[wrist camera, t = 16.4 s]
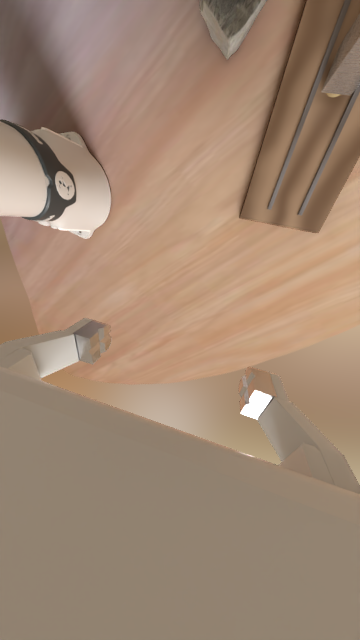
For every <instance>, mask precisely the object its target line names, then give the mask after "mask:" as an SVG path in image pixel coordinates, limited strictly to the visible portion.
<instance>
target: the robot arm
mask: <svg viewBox="0 0 360 640" xmlns="http://www.w3.org/2000/svg"><path fill="white" fill-rule="evenodd" d="M110 206H111V193H110V187H109V183H108V180H107V177H106V175H105V173H104V171H103V169H102V167H101V166H100V164H99V163H98V162H97V160H96V159H95V158H94V157H93V156H92V155H91V154H90V153H89V151H88V149H87V147H86V145H85V143H84V141H83V139H82V137H81V136H80V135H79V134H78V133H76V132H73V131H72V132H66V133H60V134H58V133H56V132H54V131H51V130H49V129H47V128H45V127H41V129H36V130H33V131H29V130H28V129H26V128H24V127H22V126H20V125H18V124H15V123H11V122H9V121H6V120H0V216H17V217H22V218H24V219H27V220H34V221H38V223H39V224H42V225H45V226H51V228H54V229H60V230H67V231H69V232H72V233H74V234H76V235H78V236H80V237H82V238H86V239H89V238H90V237H91V235H92V234H93V232H94V230H95V229H96V228H98V227H99V226H101V225H102V224H103V223H104V222H105V220H106V219H107V217H108V214H109V211H110ZM110 332H111V326H110V325H108V324H105V323H102V322H99V321H95V320H92V319H89V318H83V319H82V320H80V321H79V322H77V323H75V324H74V325H72V326H71V327H69V328H67V329H66V330H64V331H61V330H60V331H55V332H50V333H46V334H41V335H36V336H31V337H27V338H22V339H17V340H13V341H8V342H5V343H3V344H1V345H0V640H360V485H359V483H358V481H357V479H356V477H355V476H354V474H353V472H352V470H351V468H350V466H349V464H348V462H347V460H346V459H345V457H344V455H343V454H342V453H341V452H340V451H339V450H338V449H337V448H336V447H335V446H334V445H333V444H332V443H331V442H330V441H329V440H328V439H327V438H326V437H325V436H324V435H323V433H321V431H320V430H319V429H318V428H317V427H316V426H315V425H314V424H313V423H312V422H311V421H310V420H309V419H308V418H307V417H306V416H305V415H304V414H303V413H302V412H301V411H300V410H299V409H298V408H297V407H296V406H295V405H294V404H293V403H292V402H289V399H288V397H287V394H286V391H285V389H284V386H283V383H282V381H281V378H280V376H279V375H278V374H275V373H271V372H266V371H263V370H260V369H256V368H253V367H248V368H247V369H246V371H245V374H246V375H245V376H243V377H242V379H241V380H240V383H239V395H240V396H241V400H240V401H239V402H240V413H242V414H244V415H247V416H250V417H253V418H255V419H258V422H259V424H260V426H261V427H262V429H263V431H264V432H265V434H266V436H267V438H268V439H269V441H270V443H271V444H272V446H273V448H274V449H275V451H276V453H277V455H278V456H279V458H280V459H281V461H282V462H281V463H280V464H279V465H276V464H273V463H270V462H267V461H265V460H262V459H259V458H256V457H253V456H251V455H248V454H245V453H242V452H240V451H237V450H234V449H231V448H228V447H226V446H223V445H220V444H217V443H214V442H211V441H209V440H205V439H203V438H200V437H197V436H194V435H192V434H189V433H186V432H183V431H181V430H177V429H175V428H172V427H169V426H166V425H164V424H161V423H158V422H155V421H152V420H149V419H147V418H144V417H141V416H138V415H135V414H133V413H130V412H127V411H124V410H121V409H119V408H116V407H113V406H110V405H108V404H105V403H102V402H99V401H96V400H94V399H91V398H88V397H85V396H82V395H80V394H77V393H74V392H71V391H68V390H66V389H63V388H60V387H57V386H54V385H52V384H49V383H46V382H43V381H42V380H41V378H42V377H44V376H47V375H49V374H51V373H53V372H56V371H58V370H60V369H62V368H65V367H67V366H69V365H71V364H73V363H76V362H78V361H79V360H80V361H83V362H86V363H90V364H94V363H95V362H96V361H97V360H98V359H99V358H100V354H101V353H103V352H105V351H106V350H107V349H108V348H109V346H110V344H111V336H110V334H109V333H110Z"/></svg>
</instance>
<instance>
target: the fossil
mask: <svg viewBox="0 0 360 640" xmlns="http://www.w3.org/2000/svg"><path fill="white" fill-rule="evenodd" d="M266 1H267V0H200V13H201V16H202V17H203V19H204V20H205V22H206V24H207V27H208V29H209V32H210V36H211V39H212V40H213V41H214V42H215V43H216V45H217V46H218V47H219V48H220V50H221V51H222V53H223V55H224V56H225V57H226V59H227V60H228V59H229V57H230V56H231V55H232V54H233V53H235V52H236V51H237V49H238V48H239V46H240V45H241V43H242V42H243V40H244V38H245V37H246V35H247V34H248V32H249V30H250V28H251V27H252V25H253V23H254V21H255V19H256V17H257V15H258V14H259V12H260V11H261V9H262V8H263V6H264V4H265V3H266Z"/></svg>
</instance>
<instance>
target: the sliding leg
mask: <svg viewBox="0 0 360 640" xmlns="http://www.w3.org/2000/svg"><path fill="white" fill-rule="evenodd" d="M359 85H360V14H359V15H358V17H357V19H356V20H355V22H354V23H353V25H352V27H351V28H350V30H349V31H348V33H347V35H346V36H345V38H344V39H343V41H342V43H341V44H340V46H339V48H338V50H337V53H336V55H335V58H334V61H333V63H332V66H331V68H330V71H329V73H328V76H327V78H326V81H325V83H324V86H323V89H322V91H321V92H322V93H332V94H341V95H351V94H352V93H353V92H354V91H355V90H356V89H357V88H358V87H359Z"/></svg>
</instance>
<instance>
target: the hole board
mask: <svg viewBox="0 0 360 640" xmlns="http://www.w3.org/2000/svg"><path fill="white" fill-rule="evenodd" d="M359 14H360V0H306V3H305V7H304V10H303V13H302V16H301V20H300V23H299V26H298V29H297V33H296V36H295V39H294V42H293V46H292V49H291V52H290V55H289V59H288V62H287V65H286V68H285V72H284V75H283V78H282V81H281V85H280V88H279V91H278V94H277V98H276V101H275V104H274V107H273V111H272V114H271V117H270V120H269V124H268V127H267V130H266V133H265V137H264V140H263V143H262V146H261V150H260V153H259V156H258V159H257V163H256V166H255V169H254V172H253V176H252V179H251V182H250V185H249V189H248V192H247V195H246V198H245V202H244V205H243V208H242V211H241V215H240V218H241V219H246V220H251V221H256V222H261V223H267V224H272V225H277V226H282V227H287V228H292V229H297V230H302V231H307V232H312V233H319V231H320V229H321V227H322V226H323V224H324V222H325V220H326V218H327V216H328V214H329V212H330V211H331V209H332V207H333V205H334V203H335V201H336V199H337V198H338V196H339V194H340V192H341V190H342V188H343V186H344V184H345V183H346V181H347V179H348V177H349V175H350V173H351V171H352V170H353V168H354V166H355V164H356V162H357V160H358V158H359V156H360V85H359V87H358V88H357V89H356V90H355V91H354V92H353V93H352V94H351V95H341V94H332V93H322V92H321V91H322V89H323V86H324V83H325V81H326V78H327V76H328V73H329V71H330V68H331V66H332V63H333V61H334V58H335V55H336V53H337V50H338V48H339V46H340V44H341V43H342V41H343V39H344V38H345V36H346V35H347V33H348V31H349V30H350V28H351V27H352V25H353V23H354V22H355V20H356V19H357V17H358V15H359Z"/></svg>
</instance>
